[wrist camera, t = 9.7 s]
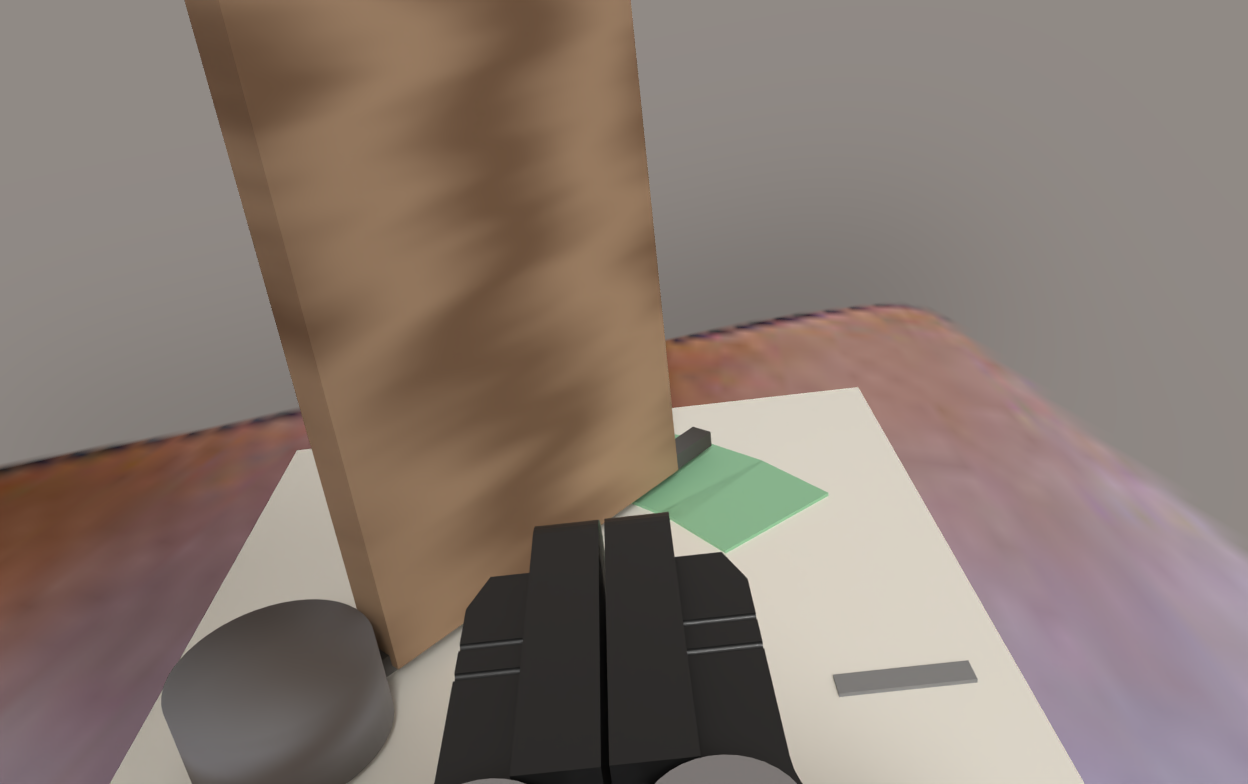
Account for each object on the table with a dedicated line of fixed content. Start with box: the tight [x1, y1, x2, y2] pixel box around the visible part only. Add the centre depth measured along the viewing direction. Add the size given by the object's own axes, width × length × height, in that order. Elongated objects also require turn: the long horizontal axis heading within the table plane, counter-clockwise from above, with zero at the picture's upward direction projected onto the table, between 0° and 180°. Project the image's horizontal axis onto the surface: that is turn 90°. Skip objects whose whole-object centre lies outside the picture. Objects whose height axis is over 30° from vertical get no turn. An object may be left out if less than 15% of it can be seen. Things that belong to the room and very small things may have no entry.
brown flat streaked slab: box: [161, 0, 712, 784], centre depth 23 cm, size 17×4×16 cm, turn 139°
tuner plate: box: [110, 387, 1084, 784], centre depth 27 cm, size 20×18×2 cm
